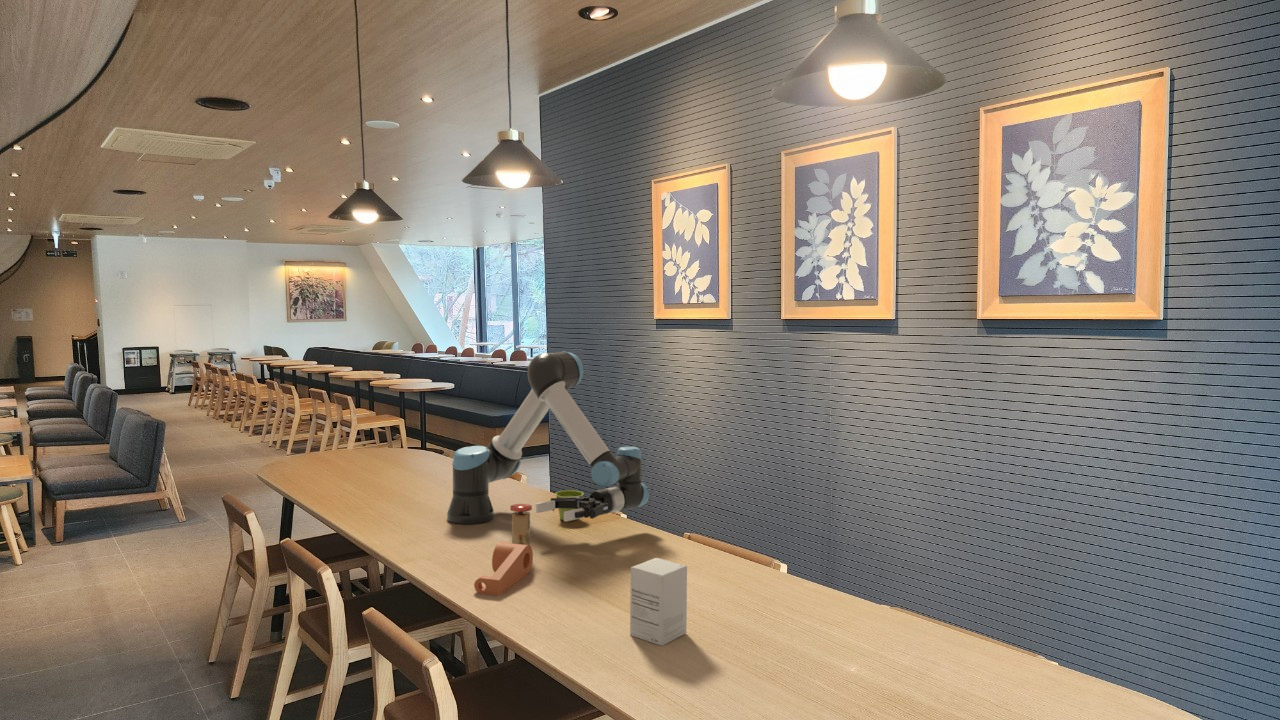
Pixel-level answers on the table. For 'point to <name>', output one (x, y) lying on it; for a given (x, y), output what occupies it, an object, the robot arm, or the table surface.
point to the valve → (521, 524)
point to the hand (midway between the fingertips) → (550, 512)
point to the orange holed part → (506, 568)
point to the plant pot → (567, 494)
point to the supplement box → (658, 601)
